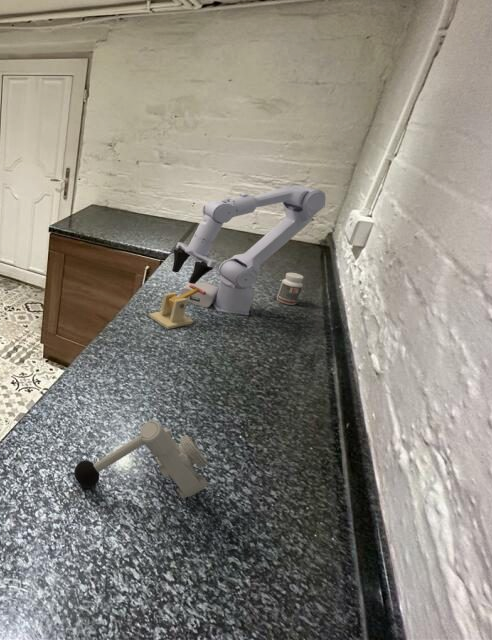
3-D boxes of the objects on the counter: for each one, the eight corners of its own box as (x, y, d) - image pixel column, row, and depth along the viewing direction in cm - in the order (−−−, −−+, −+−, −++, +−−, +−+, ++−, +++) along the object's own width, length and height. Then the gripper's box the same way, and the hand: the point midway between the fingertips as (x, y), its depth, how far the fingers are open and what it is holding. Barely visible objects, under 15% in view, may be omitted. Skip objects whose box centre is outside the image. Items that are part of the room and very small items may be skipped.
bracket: (172, 311, 128) (177, 288, 125) (192, 324, 121) (199, 300, 118) (148, 316, 124) (153, 293, 121) (167, 329, 117) (173, 305, 114)
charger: (221, 294, 140) (208, 308, 130) (193, 286, 146) (179, 299, 136) (224, 282, 138) (211, 295, 128) (196, 274, 144) (181, 287, 134)
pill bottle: (299, 306, 133) (309, 279, 130) (280, 304, 134) (289, 277, 131) (290, 298, 139) (300, 272, 135) (272, 296, 140) (281, 271, 136)
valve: (108, 497, 77) (63, 450, 74) (196, 444, 74) (154, 392, 70) (127, 550, 68) (77, 499, 64) (230, 492, 64) (183, 434, 60)
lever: (191, 288, 125) (191, 282, 124) (206, 296, 120) (206, 289, 119) (164, 302, 123) (163, 296, 122) (178, 311, 118) (178, 304, 117)
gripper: (177, 227, 126) (158, 265, 131) (212, 246, 114) (190, 286, 118) (193, 231, 129) (174, 268, 134) (229, 249, 116) (207, 289, 121)
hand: (183, 277), depth 126 cm, fingers open, 7 cm apart
